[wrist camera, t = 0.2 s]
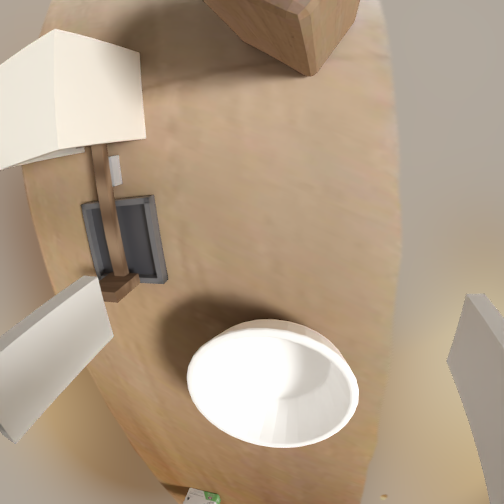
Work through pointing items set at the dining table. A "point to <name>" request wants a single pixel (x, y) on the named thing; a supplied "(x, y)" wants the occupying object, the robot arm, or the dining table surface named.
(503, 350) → the robot arm
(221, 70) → the dining table surface
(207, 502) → the ink box
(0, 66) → the tunnel
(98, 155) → the wooden dumbbell-shaped bar
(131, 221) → the grey shallow square tray
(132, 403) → the dining table surface
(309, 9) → the wooden block
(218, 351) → the bowl
